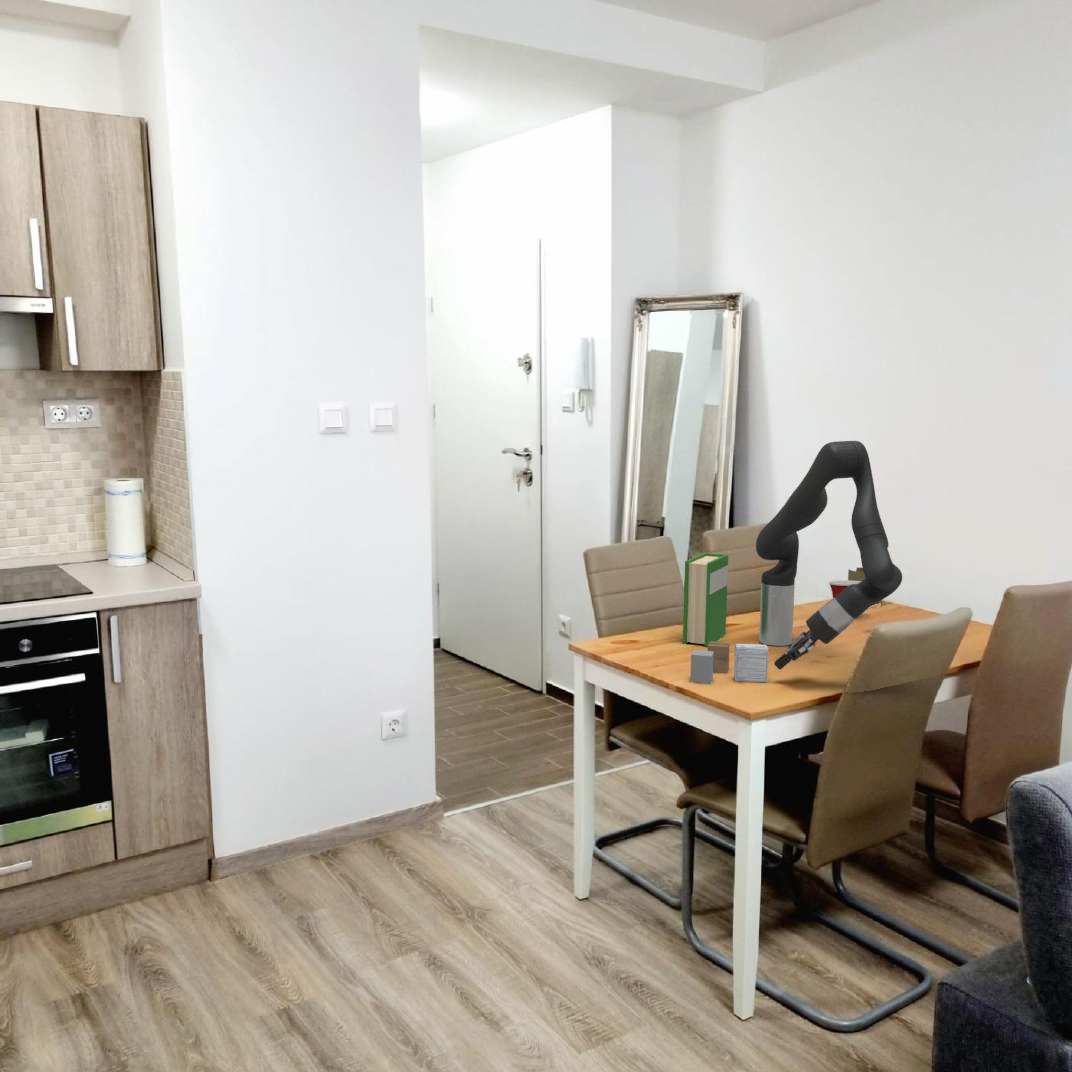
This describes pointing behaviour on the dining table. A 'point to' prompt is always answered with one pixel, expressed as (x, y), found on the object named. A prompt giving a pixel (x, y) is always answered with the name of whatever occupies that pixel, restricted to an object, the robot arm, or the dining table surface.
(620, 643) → the dining table surface
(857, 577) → the piston
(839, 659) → the dining table surface
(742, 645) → the medicine box
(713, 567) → the hardback book
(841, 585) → the plastic cup
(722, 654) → the walnut block
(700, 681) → the slate grey block
